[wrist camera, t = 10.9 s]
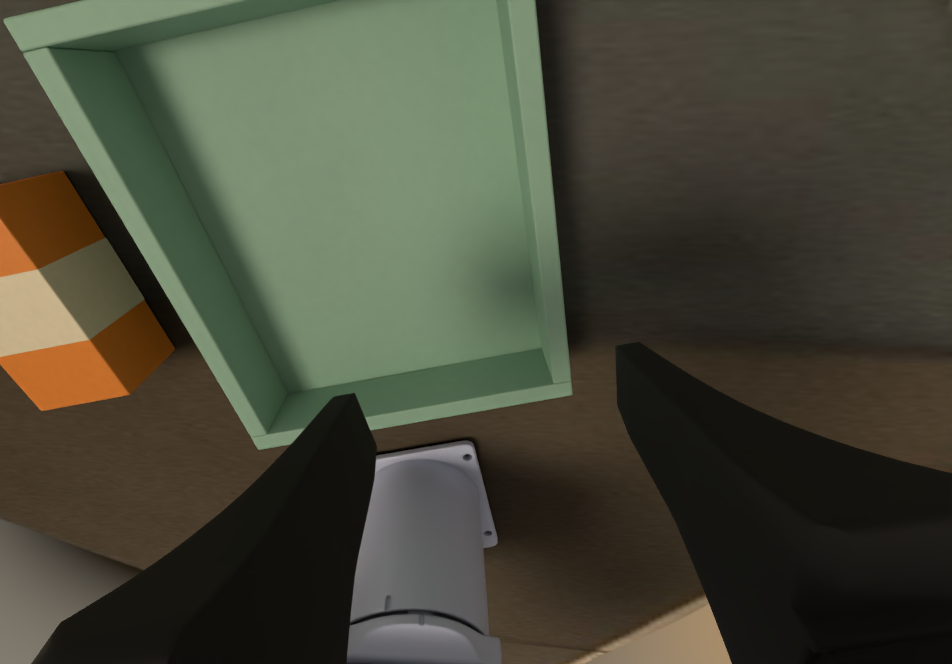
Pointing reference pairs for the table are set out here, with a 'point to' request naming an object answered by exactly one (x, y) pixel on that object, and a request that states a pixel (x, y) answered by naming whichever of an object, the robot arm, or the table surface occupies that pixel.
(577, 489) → the table surface
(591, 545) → the table surface
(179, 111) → the tub
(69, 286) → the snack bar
